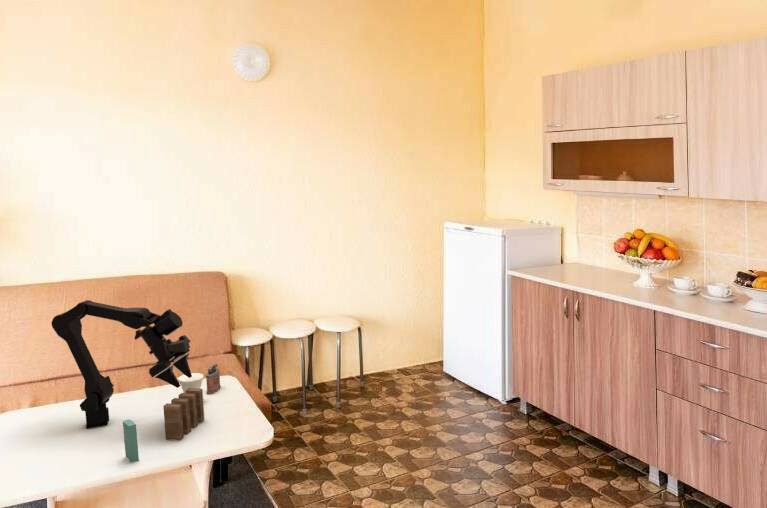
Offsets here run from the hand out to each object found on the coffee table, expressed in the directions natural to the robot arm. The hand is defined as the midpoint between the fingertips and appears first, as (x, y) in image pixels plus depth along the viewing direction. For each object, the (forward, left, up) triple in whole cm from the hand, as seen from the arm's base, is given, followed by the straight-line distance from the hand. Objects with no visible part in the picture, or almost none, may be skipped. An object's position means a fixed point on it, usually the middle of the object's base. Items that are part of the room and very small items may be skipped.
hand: (185, 381), depth 197 cm
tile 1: (+3, +3, -15) cm, 15 cm away
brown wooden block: (-2, -5, -15) cm, 16 cm away
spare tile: (-17, -17, -15) cm, 29 cm away
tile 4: (-5, -8, -15) cm, 18 cm away
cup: (+4, +20, -15) cm, 25 cm away
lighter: (+13, +29, -15) cm, 35 cm away
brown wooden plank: (0, -1, -15) cm, 15 cm away
